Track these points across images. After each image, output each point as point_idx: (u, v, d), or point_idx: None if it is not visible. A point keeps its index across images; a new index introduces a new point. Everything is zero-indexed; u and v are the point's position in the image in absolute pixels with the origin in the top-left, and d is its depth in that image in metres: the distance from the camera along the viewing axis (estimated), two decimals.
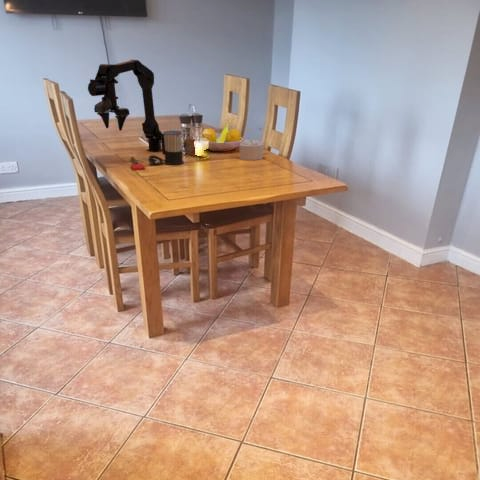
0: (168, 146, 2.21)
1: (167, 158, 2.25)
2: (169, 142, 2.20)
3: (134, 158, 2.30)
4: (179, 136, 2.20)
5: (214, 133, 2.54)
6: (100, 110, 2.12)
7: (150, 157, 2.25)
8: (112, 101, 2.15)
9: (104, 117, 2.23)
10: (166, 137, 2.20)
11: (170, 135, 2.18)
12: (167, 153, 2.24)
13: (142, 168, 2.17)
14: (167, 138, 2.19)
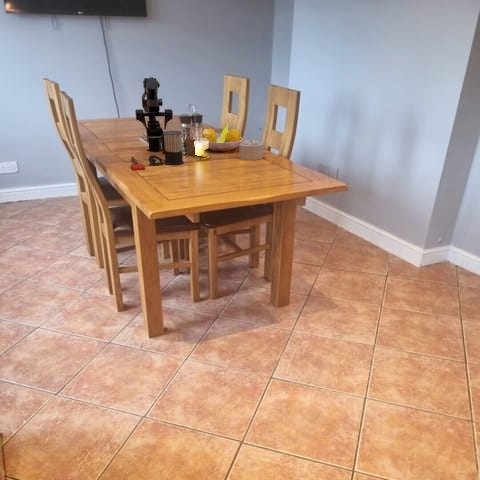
0: (168, 146, 2.21)
1: (167, 158, 2.25)
2: (169, 142, 2.20)
3: (134, 158, 2.30)
4: (179, 136, 2.20)
5: (214, 133, 2.54)
6: (156, 103, 2.25)
7: (150, 157, 2.25)
8: None
9: (145, 120, 2.30)
10: (166, 137, 2.20)
11: (170, 135, 2.18)
12: (167, 153, 2.24)
13: (142, 168, 2.17)
14: (167, 138, 2.19)
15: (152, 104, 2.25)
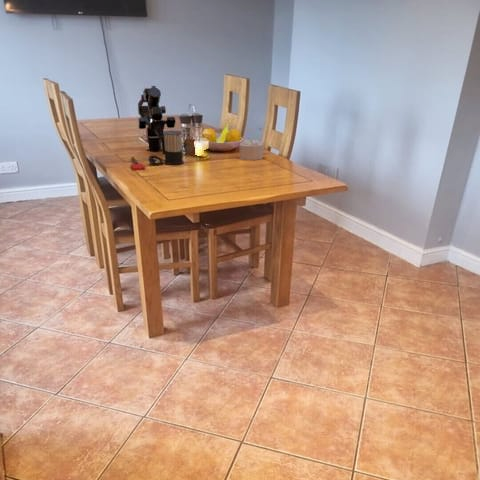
0: (168, 146, 2.21)
1: (167, 158, 2.25)
2: (169, 142, 2.20)
3: (134, 158, 2.30)
4: (179, 136, 2.20)
5: (214, 133, 2.54)
6: (160, 110, 2.27)
7: (150, 157, 2.25)
8: None
9: None
10: (166, 137, 2.20)
11: (170, 135, 2.18)
12: (167, 153, 2.24)
13: (142, 168, 2.17)
14: (167, 138, 2.19)
15: (156, 111, 2.27)
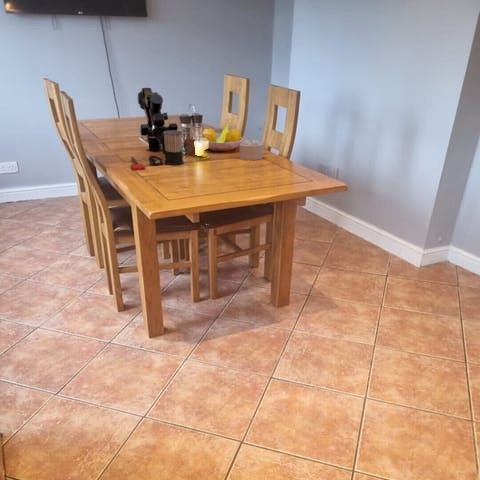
0: (168, 146, 2.21)
1: (167, 158, 2.25)
2: (169, 142, 2.20)
3: (134, 158, 2.30)
4: (179, 136, 2.20)
5: (214, 133, 2.54)
6: (162, 117, 2.25)
7: (150, 157, 2.25)
8: None
9: None
10: (166, 137, 2.19)
11: (170, 135, 2.18)
12: (167, 153, 2.23)
13: (142, 168, 2.17)
14: (167, 139, 2.19)
15: (158, 118, 2.24)
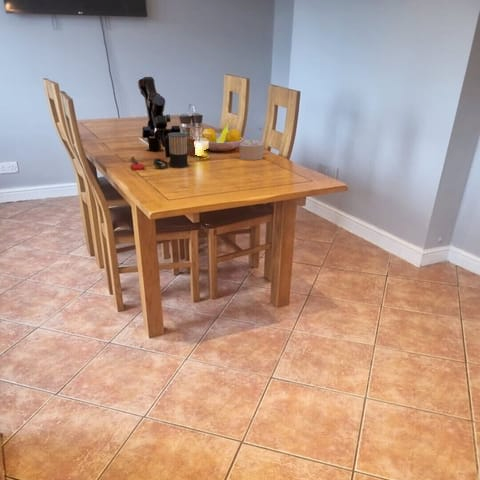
0: (174, 148, 2.17)
1: (173, 161, 2.20)
2: (175, 145, 2.16)
3: (134, 158, 2.30)
4: (185, 138, 2.16)
5: (214, 133, 2.54)
6: (164, 119, 2.20)
7: (155, 160, 2.19)
8: None
9: None
10: (172, 140, 2.15)
11: (176, 137, 2.14)
12: (173, 156, 2.19)
13: (142, 168, 2.17)
14: (173, 141, 2.15)
15: (160, 120, 2.19)
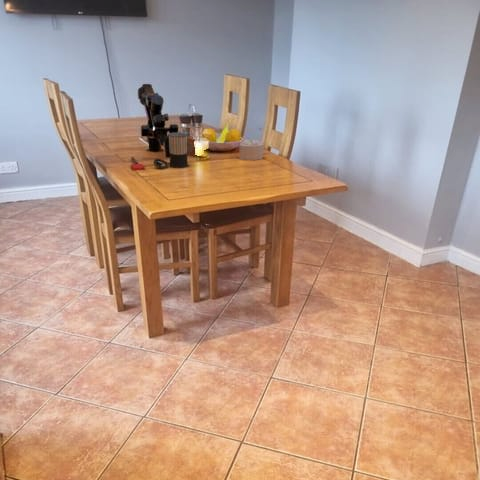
0: (174, 148, 2.17)
1: (173, 161, 2.20)
2: (175, 145, 2.16)
3: (134, 158, 2.30)
4: (185, 138, 2.16)
5: (214, 133, 2.54)
6: (163, 118, 2.24)
7: (155, 160, 2.19)
8: None
9: None
10: (172, 140, 2.15)
11: (176, 137, 2.14)
12: (173, 156, 2.19)
13: (142, 168, 2.17)
14: (173, 141, 2.15)
15: (158, 119, 2.23)
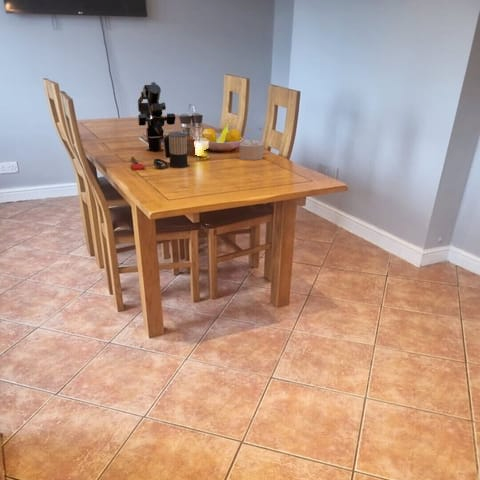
0: (174, 148, 2.17)
1: (173, 161, 2.20)
2: (175, 145, 2.16)
3: (134, 158, 2.30)
4: (185, 138, 2.16)
5: (214, 133, 2.54)
6: (160, 107, 2.26)
7: (155, 160, 2.19)
8: None
9: None
10: (172, 140, 2.15)
11: (176, 137, 2.14)
12: (173, 156, 2.19)
13: (142, 168, 2.17)
14: (173, 141, 2.15)
15: (156, 108, 2.26)
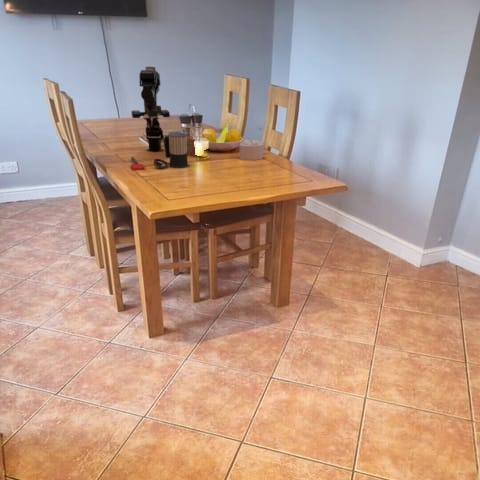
0: (174, 148, 2.17)
1: (173, 161, 2.20)
2: (175, 145, 2.16)
3: (134, 158, 2.30)
4: (185, 138, 2.16)
5: (214, 133, 2.54)
6: (155, 114, 2.23)
7: (155, 160, 2.19)
8: None
9: None
10: (172, 140, 2.15)
11: (176, 137, 2.14)
12: (173, 156, 2.19)
13: (142, 168, 2.17)
14: (173, 141, 2.15)
15: (151, 115, 2.23)
